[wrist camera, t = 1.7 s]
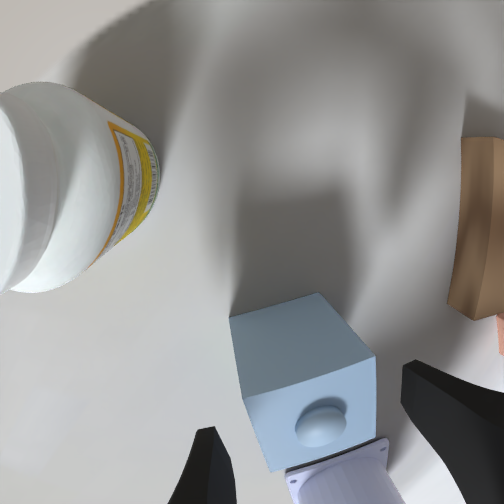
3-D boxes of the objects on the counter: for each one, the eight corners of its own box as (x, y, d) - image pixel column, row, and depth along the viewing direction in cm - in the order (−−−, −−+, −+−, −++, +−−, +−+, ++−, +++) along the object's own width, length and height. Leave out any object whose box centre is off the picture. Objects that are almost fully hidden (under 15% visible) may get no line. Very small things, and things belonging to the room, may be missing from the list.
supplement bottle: (187, 182, 13) (141, 205, 4) (101, 262, 13) (-16, 390, 4) (110, 94, 12) (-18, 0, 2) (32, 178, 12) (-129, 206, 3)
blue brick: (329, 363, 17) (379, 443, 10) (250, 387, 16) (272, 479, 10) (318, 291, 15) (381, 362, 9) (228, 317, 15) (244, 406, 9)
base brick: (490, 292, 18) (518, 307, 15) (443, 301, 17) (473, 321, 14) (503, 149, 15) (536, 151, 12) (457, 137, 15) (493, 136, 12)
